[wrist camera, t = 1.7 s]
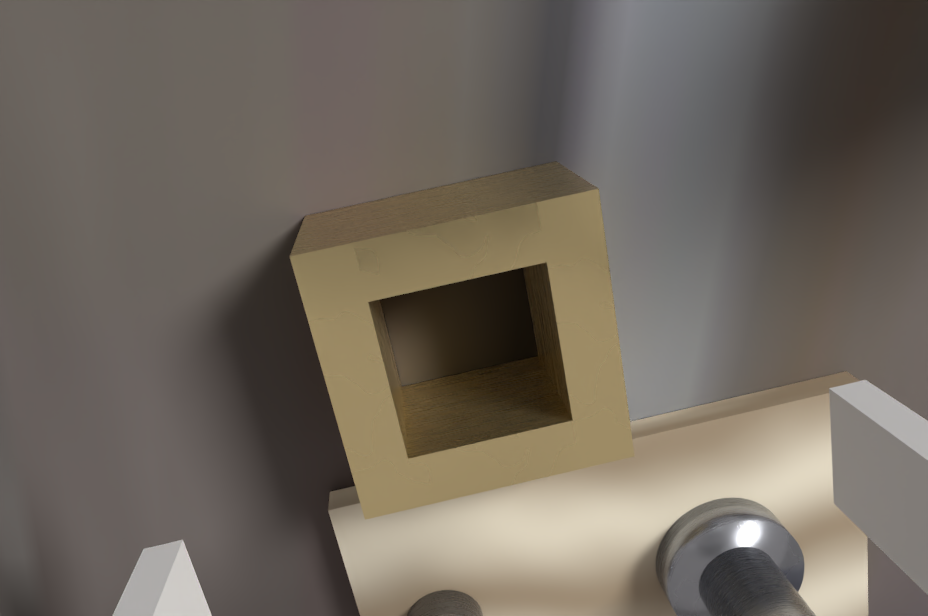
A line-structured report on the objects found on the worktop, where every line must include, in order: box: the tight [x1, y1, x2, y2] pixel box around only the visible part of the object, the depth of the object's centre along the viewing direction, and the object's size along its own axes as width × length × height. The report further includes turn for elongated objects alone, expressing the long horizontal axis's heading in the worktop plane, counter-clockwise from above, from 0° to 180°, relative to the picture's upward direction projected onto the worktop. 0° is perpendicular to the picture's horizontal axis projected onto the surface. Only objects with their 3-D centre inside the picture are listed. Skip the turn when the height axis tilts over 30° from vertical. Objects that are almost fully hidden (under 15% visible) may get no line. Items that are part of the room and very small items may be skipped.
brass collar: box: [290, 161, 634, 520], centre depth 24 cm, size 8×8×5 cm
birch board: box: [328, 371, 868, 616], centre depth 30 cm, size 12×20×1 cm, turn 101°
